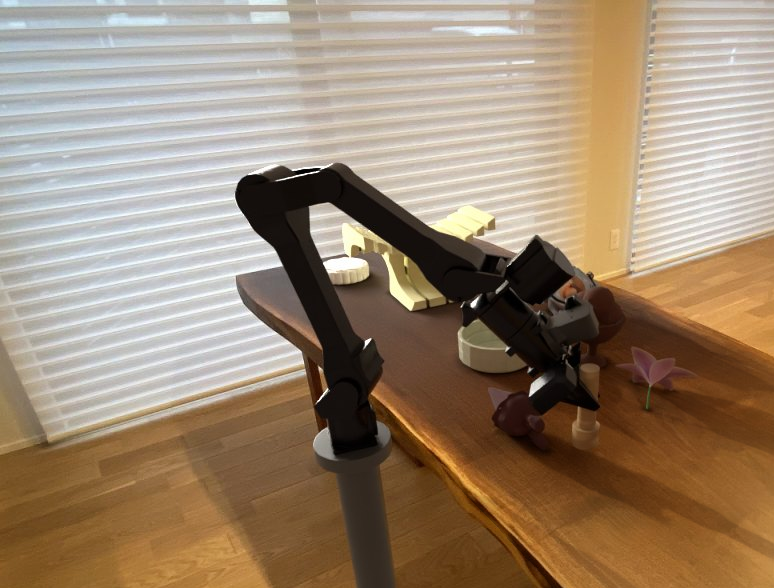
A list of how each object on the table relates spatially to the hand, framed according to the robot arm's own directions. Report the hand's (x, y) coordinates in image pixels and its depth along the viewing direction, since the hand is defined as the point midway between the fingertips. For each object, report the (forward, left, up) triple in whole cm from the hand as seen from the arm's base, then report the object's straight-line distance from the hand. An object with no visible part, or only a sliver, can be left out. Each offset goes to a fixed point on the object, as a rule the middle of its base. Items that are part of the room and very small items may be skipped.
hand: (597, 403), depth 84 cm
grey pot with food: (+22, +47, -9) cm, 52 cm away
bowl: (-1, +35, -9) cm, 36 cm away
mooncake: (-20, +92, -9) cm, 94 cm away
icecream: (-8, +10, -9) cm, 16 cm away
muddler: (-1, +1, -7) cm, 7 cm away
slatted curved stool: (-5, +72, -9) cm, 72 cm away
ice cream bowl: (+14, +26, -9) cm, 30 cm away
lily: (+17, +11, -9) cm, 22 cm away
